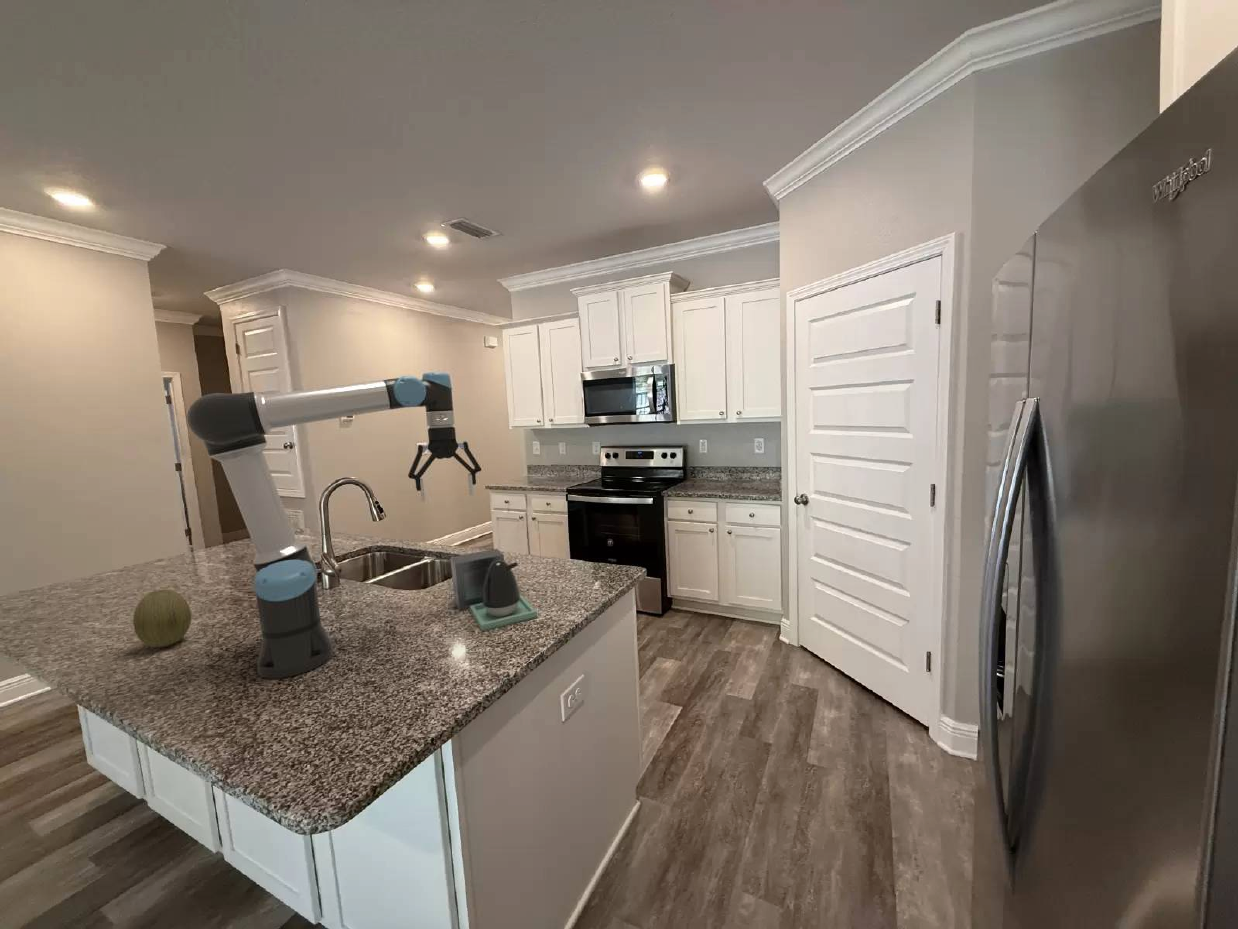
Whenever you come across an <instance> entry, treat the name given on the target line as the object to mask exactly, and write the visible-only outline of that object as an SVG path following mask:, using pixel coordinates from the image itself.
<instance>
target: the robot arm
mask: <svg viewBox="0 0 1238 929" xmlns="http://www.w3.org/2000/svg"><path fill="white" fill-rule="evenodd" d="M452 390H453V388H452V382H451V377H450V374H449V373H446V372H443V371H437V372H435V371H434V372H424V373H423V374H422V378H421V379H419V378H418V377H416V376H412V375H404V376H400V377H397V378H396V377H395V378H388V379H381V380H371V381H364V382H358V383H357V382H356V383H349V384H341V385H333V386H324V387H317V388H311V389H310V388H309V389H301V390H295V391H288V392H287V391H286V392H279V393H271V394H264V395H263V394H261V393H259V392H258V391H251V392H240V393H239V392H238V393H237V392H236V393H225V392H224V393H223V392H222V393H221V392H215V393H208V394H205V395H203V396H201V397H199V398H197V399H196V400H195V401H194V402H193V403H192V404H191V405H190V406H189V409H188V411H187V416H186V419H187V425H188V427H189V428H190V431H191V432H192V433H193V434H194V435H195V436H196V437H197V438H198V439H200V440H201V441H203V444H204V446H205V448H206V450H207V453H208V456H209V458H211V459H213V460H216V461H218V462H220V464H221V466H222V469H223V472H224V474H225V477H226V479H227V482H228V484H229V487H230V489H231V492H232V494H233V497H234V499H235V501H236V503H237V506H238V508H239V512H240V513H241V516H242V519H243V521H244V524H245V526H246V529H247V531H248V534H249V536H250V539H251V542H252V544H253V547H254V548H255V551H256V555H255V557H254V559H253V561H252V564H253V566H254V568H255V571H256V574H255V575H254V584H253V591H254V592H255V595H256V600H257V601H256V602H257V603H256V604H257V610H258V615H259V616H258V617H259V622H260V623H259V624H260V629H261V630H260V631H261V634H262V635H261V636H262V641H261V645H260V650H259V653H258V658H257V662H256V668H257V674H258V676H259V677H260V678H263V679H266V680H267V679H268V680H269V679H271V680H273V679H285V678H290V677H294V676H297V675H301V674H303V673H304V674H305V673H307V672H309V671H311V670H314V669H316V668H318V667H319V666H322V665H324V663H326V662H327V661H329V660H330V659H331V658H332V656H333V655H334V646H333V641H332V640H331V639H330V636H329V635H328V633H327V631H326V630H325V628H324V626H323V624H322V621H321V620H322V619H321V611H320V604H319V599H318V590H317V588H318V567H317V565H316V563H315V562H314V560H313V559H312V558H311V555H310V553H309V550H308V547H307V545H306V543H304V542H302V541H300V540H298V539H296V536H295V532H294V530H293V528H292V525H291V523H290V520H289V516H288V515H287V511H286V510H285V507H284V504H283V502H282V499H281V496H280V494H279V493H280V492H279V491H278V489H277V486H276V482H275V481H274V478H273V475H272V473H271V470H270V468H269V465H268V463H267V459H266V457H265V455H264V450H265V448H266V447H267V445H268V442H267V439H266V436H265V435H268V434H269V433H270V432H271V430H273V429H278V428H284V427H290V426H295V425H303V424H308V423H314V422H321V421H327V420H333V419H340V418H346V417H353V416H358V415H363V414H364V415H365V414H371V413H378V412H384V411H389V410H390V411H391V410H399V409H403V408H417V407H418V408H422V407H425V415H426V425H427V426H426V427H428V429H427V437H428V444H427V445H424V444H423V445H422V444H418V445H417V452H416V455H415V458H414V460H413V462H412V465H411V466H410V467H411V468H410V470H409V472H408V474H407V477H408V478H409V479H412V480H414V481H415V488H416V491H417V492H420V497H421V500H420V501H421V503H426V497H425V488H424V479H423V478H422V477H423V475H424V474H425V473H426V471H427V469H429V468H430V466H431V464H432V463H433V462H434V460H436V459H438V460H443V459H451V458H454V459H456V462H458V463H460V465H461V466H463V467H464V468H465V469H466V470H467V471H468V472H469V473H467V481H468V482H467V483H468V491H469V493H468V494H469V496H470V497H474V485H477V484H476V483H477V477H476V474H478V473H479V472H481V471H482V468H481V465H480V464H479V463H478V461H477V459H476V458H475V457H474V455H473V453H472V452H471V450H470V448H469V443H468V441H465V440H464V441H461V442H457V435H456V427H455V424H456V423H455V416H454V404H453V403H454V402H453V391H452ZM459 448H460V449H461V450H463V451H464V453H465V455H466V456H467V458H468V459H469V461H470V463H471V464H472V465H473V467H474V468H473V467H471V466H470V465H469V463H468V462H467V461H465V460H464V459H463V458H462V457H461V456H460V455H459V453H457V450H458V449H459ZM427 450H428V451H429V453H430V455H429V457H427V458H428V459H427V460H426V461H425V462H424V464H423V465H422V466H421V468H420V469H419V470H418V471H417V469H418V465H419V464H420V461H421V458H422V456H423V454H424V453H425V452H426V451H427ZM416 471H417V473H416ZM415 473H416V474H415Z"/></svg>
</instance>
